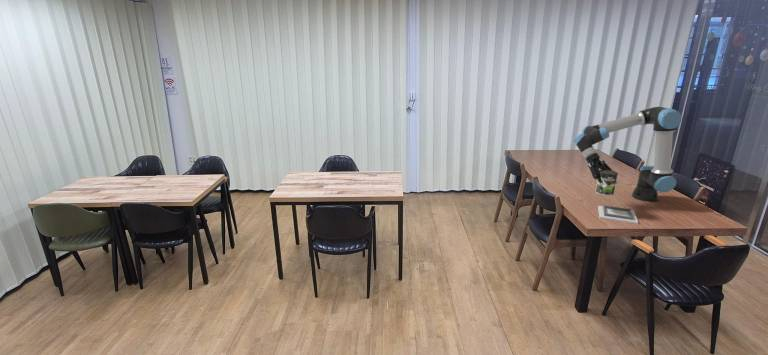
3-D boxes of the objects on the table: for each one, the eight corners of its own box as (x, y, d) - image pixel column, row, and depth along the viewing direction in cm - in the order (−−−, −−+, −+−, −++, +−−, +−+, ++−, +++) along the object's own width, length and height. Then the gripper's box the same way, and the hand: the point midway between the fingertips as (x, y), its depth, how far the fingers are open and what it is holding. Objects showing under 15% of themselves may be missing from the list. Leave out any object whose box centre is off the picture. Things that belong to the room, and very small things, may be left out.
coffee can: (616, 196, 223) (620, 174, 219) (597, 195, 226) (601, 173, 222) (610, 190, 233) (614, 169, 228) (593, 189, 235) (596, 169, 231)
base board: (633, 211, 232) (634, 208, 231) (638, 223, 215) (638, 220, 214) (598, 206, 241) (598, 203, 240) (599, 218, 224) (600, 214, 223)
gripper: (597, 156, 241) (616, 185, 233) (575, 161, 232) (594, 191, 223) (606, 150, 235) (626, 179, 227) (584, 154, 225) (604, 185, 217)
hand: (610, 185), depth 225 cm, fingers closed on coffee can, 10 cm apart
